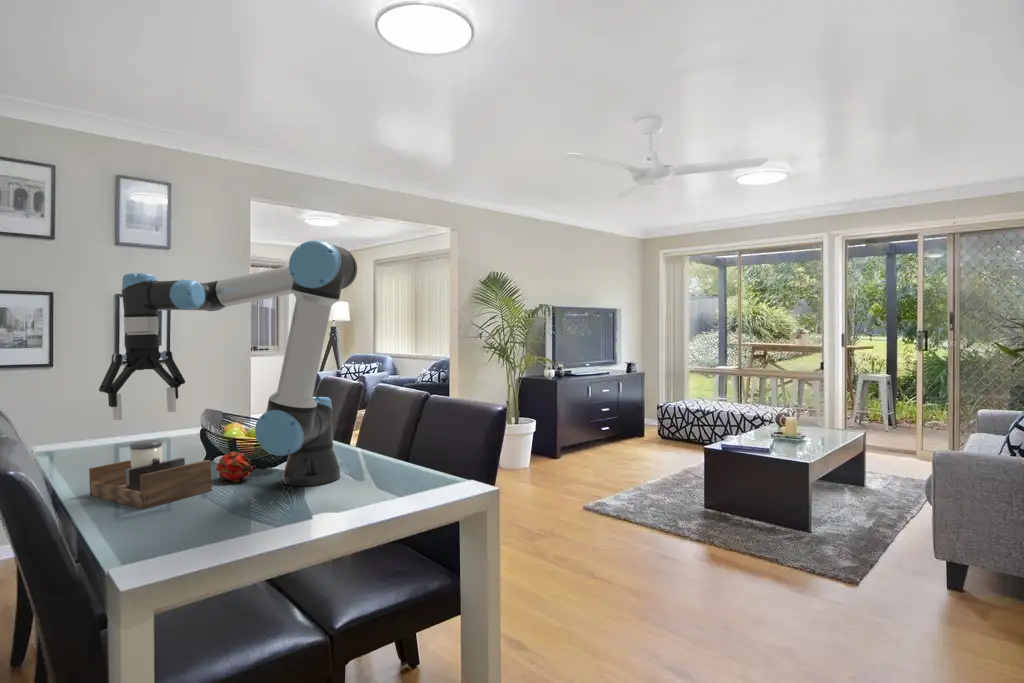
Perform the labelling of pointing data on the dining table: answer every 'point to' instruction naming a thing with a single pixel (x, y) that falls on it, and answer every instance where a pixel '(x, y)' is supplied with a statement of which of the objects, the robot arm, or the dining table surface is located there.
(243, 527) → the dining table surface
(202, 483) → the wooden box
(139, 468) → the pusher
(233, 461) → the dragon fruit
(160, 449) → the jar
